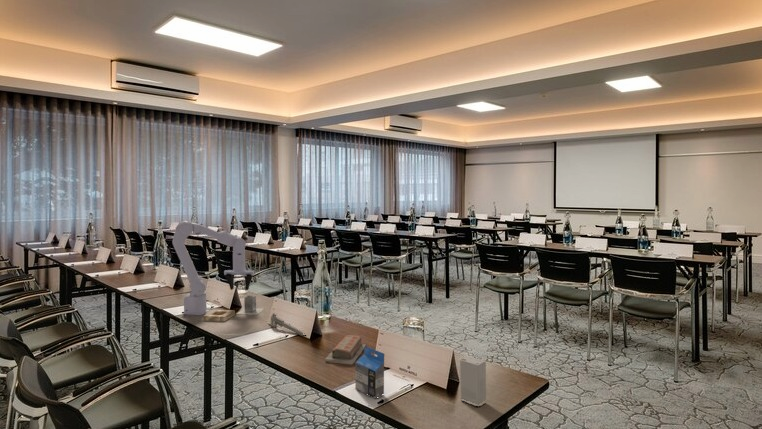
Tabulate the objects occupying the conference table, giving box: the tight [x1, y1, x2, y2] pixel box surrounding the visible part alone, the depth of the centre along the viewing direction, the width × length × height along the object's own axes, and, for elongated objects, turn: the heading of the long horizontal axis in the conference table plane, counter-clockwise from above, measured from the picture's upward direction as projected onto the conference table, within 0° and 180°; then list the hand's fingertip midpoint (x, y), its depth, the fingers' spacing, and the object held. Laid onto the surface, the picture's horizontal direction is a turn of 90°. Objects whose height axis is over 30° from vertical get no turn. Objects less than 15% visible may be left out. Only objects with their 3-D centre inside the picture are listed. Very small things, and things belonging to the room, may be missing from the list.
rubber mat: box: [235, 307, 265, 316], centre depth 210 cm, size 10×10×1 cm
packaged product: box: [324, 334, 367, 365], centre depth 159 cm, size 18×5×10 cm
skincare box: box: [459, 355, 487, 405], centre depth 123 cm, size 6×4×12 cm
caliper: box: [270, 313, 304, 337], centre depth 183 cm, size 20×1×6 cm, turn 55°
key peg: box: [243, 295, 257, 313], centre depth 209 cm, size 4×4×7 cm
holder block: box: [202, 309, 236, 322], centre depth 200 cm, size 10×10×2 cm
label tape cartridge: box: [354, 345, 385, 399], centre depth 129 cm, size 9×4×12 cm, turn 45°
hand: (239, 289), depth 216 cm, fingers open, 7 cm apart
